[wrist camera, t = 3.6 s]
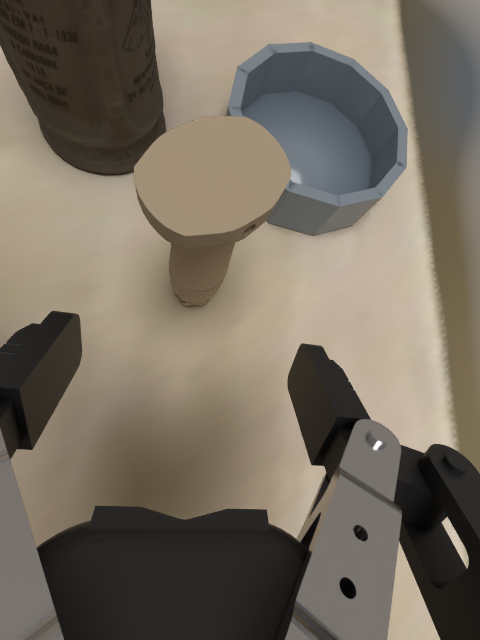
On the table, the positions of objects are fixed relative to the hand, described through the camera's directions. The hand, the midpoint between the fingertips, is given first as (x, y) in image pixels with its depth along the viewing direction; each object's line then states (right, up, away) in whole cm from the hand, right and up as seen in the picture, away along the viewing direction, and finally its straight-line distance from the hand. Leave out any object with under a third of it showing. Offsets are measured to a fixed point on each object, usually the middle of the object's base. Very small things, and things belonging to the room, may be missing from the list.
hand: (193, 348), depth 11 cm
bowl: (+8, +18, +21) cm, 29 cm away
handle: (-2, +4, +15) cm, 16 cm away
